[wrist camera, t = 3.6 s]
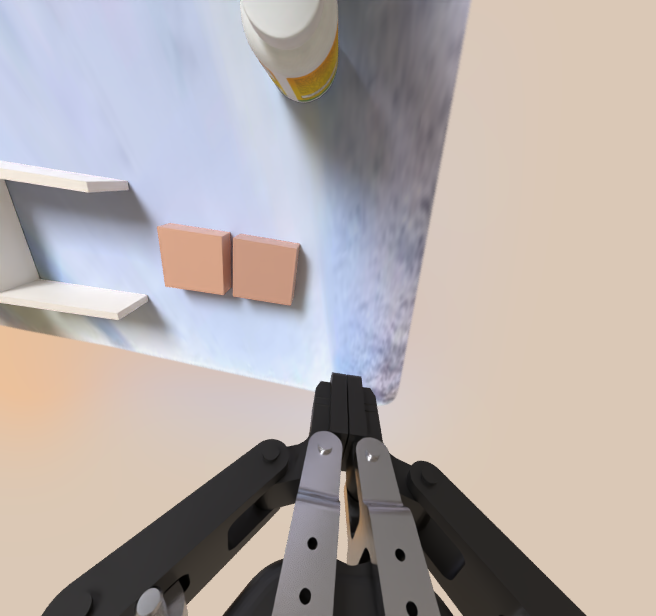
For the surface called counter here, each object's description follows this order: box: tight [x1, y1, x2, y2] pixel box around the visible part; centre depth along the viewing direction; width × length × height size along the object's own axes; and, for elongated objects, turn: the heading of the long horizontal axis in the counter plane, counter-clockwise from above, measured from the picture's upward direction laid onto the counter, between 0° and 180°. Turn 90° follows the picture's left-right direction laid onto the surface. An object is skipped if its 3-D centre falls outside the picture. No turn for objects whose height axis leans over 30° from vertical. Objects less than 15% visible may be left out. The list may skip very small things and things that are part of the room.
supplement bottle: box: [240, 0, 338, 103], centre depth 16 cm, size 5×5×10 cm
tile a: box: [157, 223, 231, 295], centre depth 27 cm, size 6×6×2 cm
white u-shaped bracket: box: [0, 161, 148, 320], centre depth 26 cm, size 13×13×4 cm
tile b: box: [233, 234, 300, 306], centre depth 27 cm, size 6×6×2 cm
